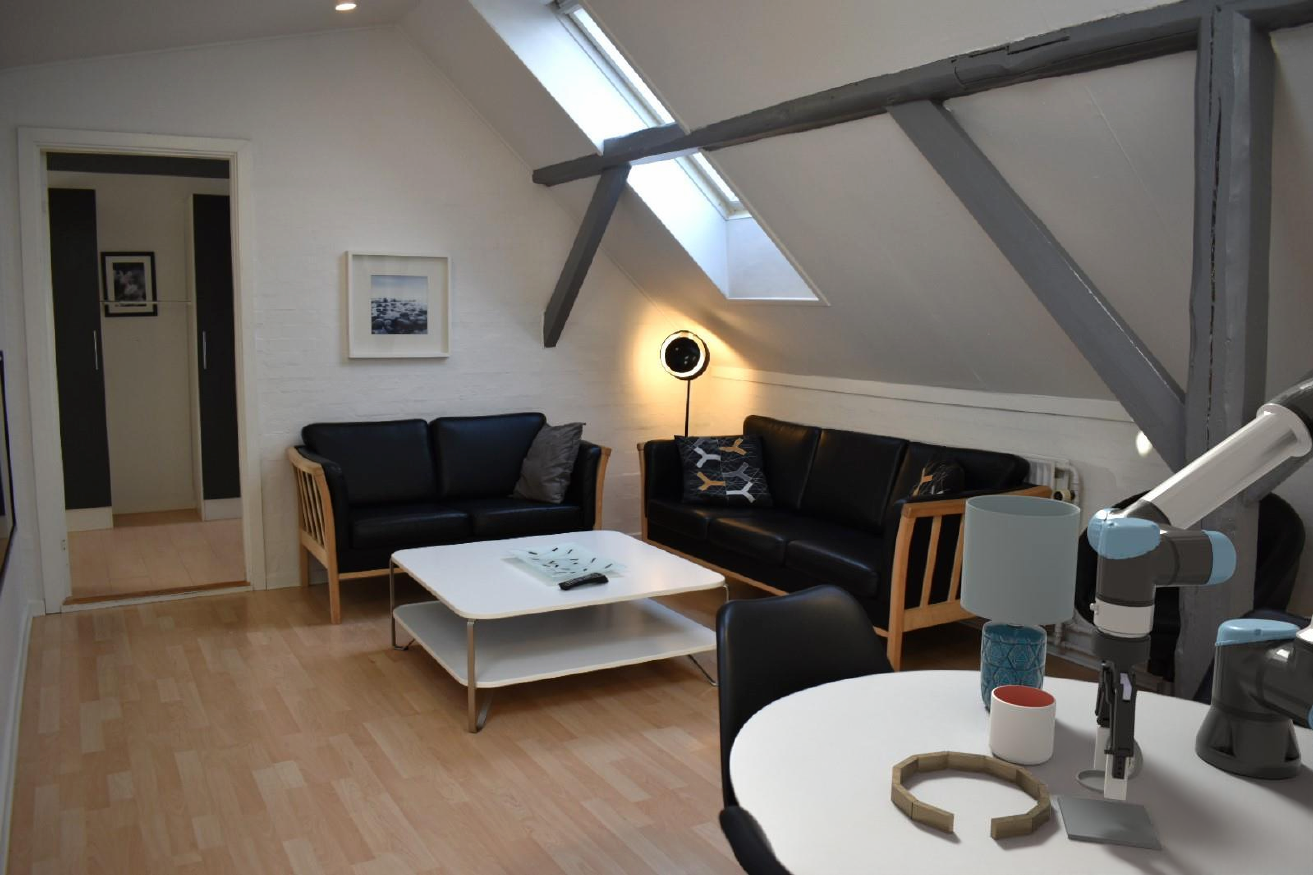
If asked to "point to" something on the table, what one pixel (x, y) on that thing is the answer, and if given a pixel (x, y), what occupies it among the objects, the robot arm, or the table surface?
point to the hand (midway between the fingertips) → (1109, 783)
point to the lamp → (1018, 581)
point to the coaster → (1108, 822)
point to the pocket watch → (1096, 778)
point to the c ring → (971, 763)
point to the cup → (1022, 724)
